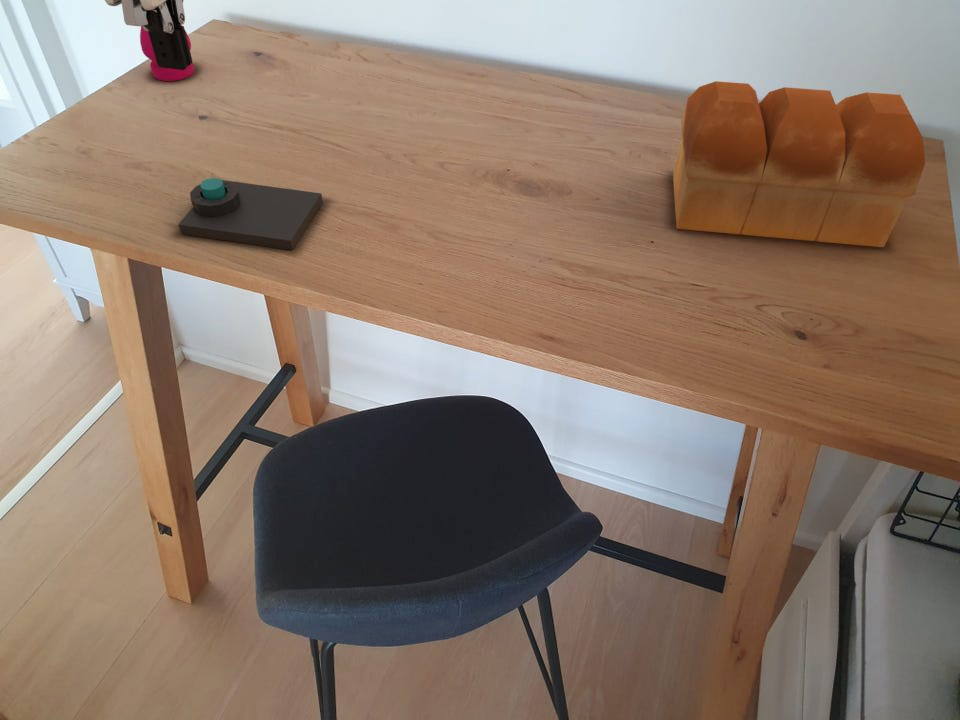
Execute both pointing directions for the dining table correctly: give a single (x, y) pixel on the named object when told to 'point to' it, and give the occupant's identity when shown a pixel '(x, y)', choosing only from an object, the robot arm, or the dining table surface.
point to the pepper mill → (157, 71)
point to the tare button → (212, 188)
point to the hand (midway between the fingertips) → (175, 65)
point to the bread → (795, 164)
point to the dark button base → (252, 215)
